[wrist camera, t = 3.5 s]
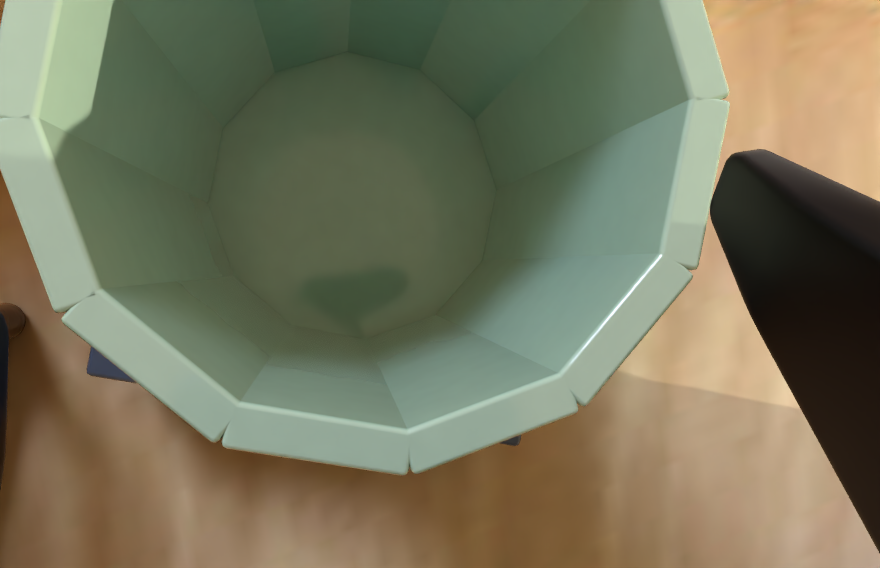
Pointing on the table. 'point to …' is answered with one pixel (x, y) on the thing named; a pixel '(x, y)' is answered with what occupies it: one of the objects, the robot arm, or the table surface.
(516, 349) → the tumbler
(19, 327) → the rack
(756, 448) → the table surface
